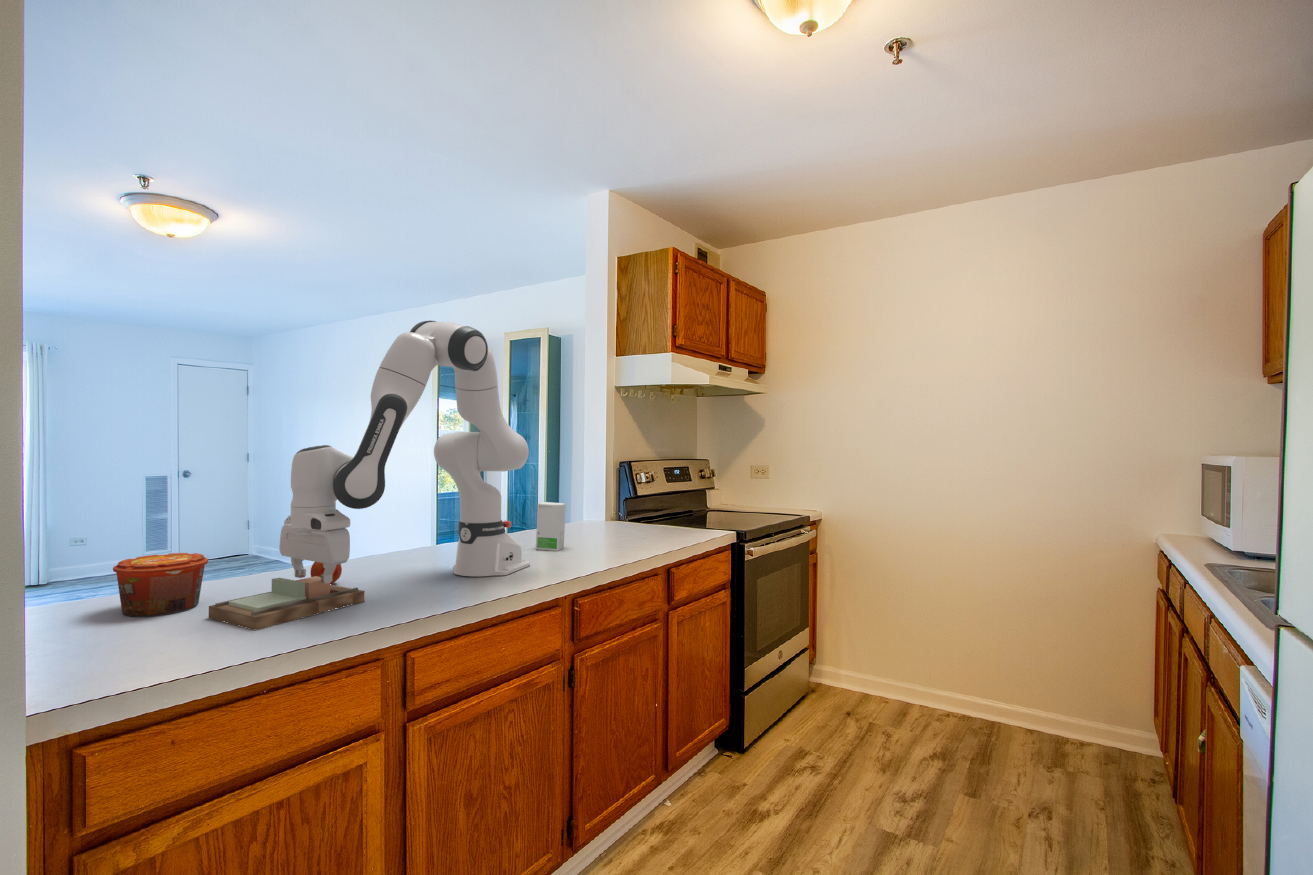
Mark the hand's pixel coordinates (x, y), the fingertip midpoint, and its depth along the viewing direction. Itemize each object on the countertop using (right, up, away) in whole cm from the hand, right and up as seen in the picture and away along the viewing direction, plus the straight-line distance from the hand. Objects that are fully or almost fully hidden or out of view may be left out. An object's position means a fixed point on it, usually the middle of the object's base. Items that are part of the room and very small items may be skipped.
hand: (313, 579), depth 139 cm
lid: (-4, -3, -9) cm, 11 cm away
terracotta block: (0, -5, -1) cm, 5 cm away
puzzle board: (-2, -5, -5) cm, 8 cm away
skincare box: (+41, -6, +72) cm, 83 cm away
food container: (-29, -5, -6) cm, 30 cm away
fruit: (-6, -5, +17) cm, 19 cm away
